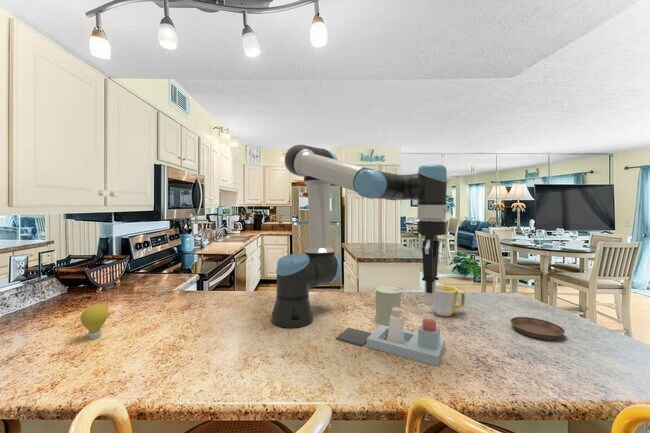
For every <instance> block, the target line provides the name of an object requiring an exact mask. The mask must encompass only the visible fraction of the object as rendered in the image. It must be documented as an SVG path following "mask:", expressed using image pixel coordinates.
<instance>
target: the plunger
mask: <svg viewBox="0 0 650 433" xmlns="http://www.w3.org/2000/svg"><path fill="white" fill-rule="evenodd" d="M422 324H423V329H424V330H427V331H435V330H436V327H437V321H435V320H433V319H429V318H427V319H423V320H422Z"/></svg>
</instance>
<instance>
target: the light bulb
mask: <svg viewBox="0 0 650 433" xmlns="http://www.w3.org/2000/svg"><path fill="white" fill-rule="evenodd" d="M79 317H80V319H79V320H80V323H81V324H82V325H83V326H84V328H85V329H86V330H87V331H88V332H87V336H88V337H89V340H97V339H99V338H100V337H101V334H102V329H101V328H102V326H103V325H104V324H105V323H106V321H107V318H108V317H109V312H108V310H107V308H106V307H104V306H102V305H100V304H99V305H98V304H95V305H91V306H89V307H87V308H86V309H84V311H82V313H81V314H80V316H79Z"/></svg>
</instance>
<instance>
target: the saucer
mask: <svg viewBox="0 0 650 433" xmlns="http://www.w3.org/2000/svg"><path fill="white" fill-rule="evenodd" d="M510 323H511V325H512V326H513V327H514V328H515V330H517V331H518V332H519V333H520V334H522V335H525V336H527V337H530V338H534V339H538V338H539V340H545V339H547V341H552V340H551V339H553V340H556V339H559V338H560V337H562V336H564V335H565V333H566V330H565V329H564V328H563V327H561V326H560V325H558V324H556V323H554V322H550V321H548V320H544V319H542V318H535V317H527V316H526V317H525V316H515V317H512V318H511V319H510Z"/></svg>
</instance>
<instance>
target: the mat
mask: <svg viewBox="0 0 650 433" xmlns="http://www.w3.org/2000/svg"><path fill="white" fill-rule="evenodd" d="M372 333H373V332H370V331H369V332H368V331H365V330H360V329H357V328H352V327H347V328H346V329H345V330H344V331H342V332H341V333H340V334H338V335H337V336H336V337H335V340H337V341H341V342H345V343H348V344H351V345H352V344H353V345H356V346H359V347H364V346H365V345H367V338H368V337H369V336H370V335H371V334H372Z"/></svg>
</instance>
